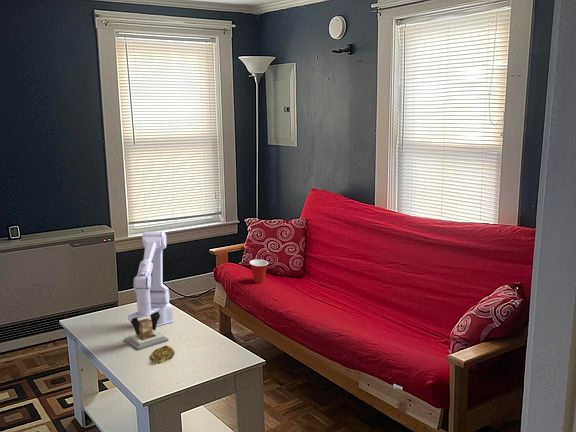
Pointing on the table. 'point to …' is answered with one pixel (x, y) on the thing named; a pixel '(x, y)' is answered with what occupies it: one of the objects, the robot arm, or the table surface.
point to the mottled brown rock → (162, 354)
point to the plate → (142, 344)
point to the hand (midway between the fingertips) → (145, 331)
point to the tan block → (145, 329)
